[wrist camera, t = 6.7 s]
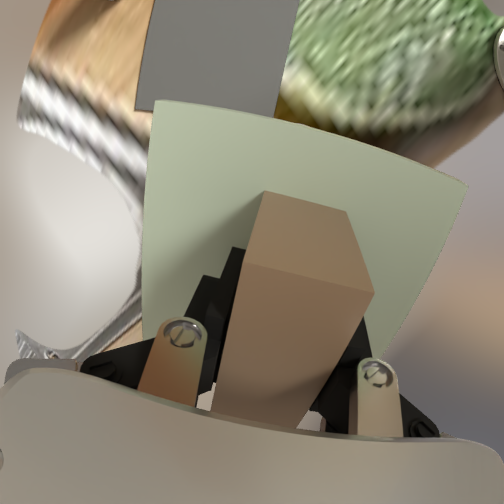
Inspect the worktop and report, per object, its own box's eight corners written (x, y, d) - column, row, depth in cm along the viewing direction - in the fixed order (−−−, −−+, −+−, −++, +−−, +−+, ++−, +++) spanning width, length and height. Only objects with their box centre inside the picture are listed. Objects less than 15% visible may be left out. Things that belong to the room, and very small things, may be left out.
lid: (459, 179, 10) (546, 246, 5) (356, 380, 16) (364, 469, 11) (163, 99, 11) (65, 115, 6) (148, 332, 16) (105, 415, 11)
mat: (300, -3, 25) (300, -4, 24) (270, 129, 32) (270, 129, 32) (160, -14, 25) (159, -15, 25) (136, 108, 33) (135, 108, 32)
